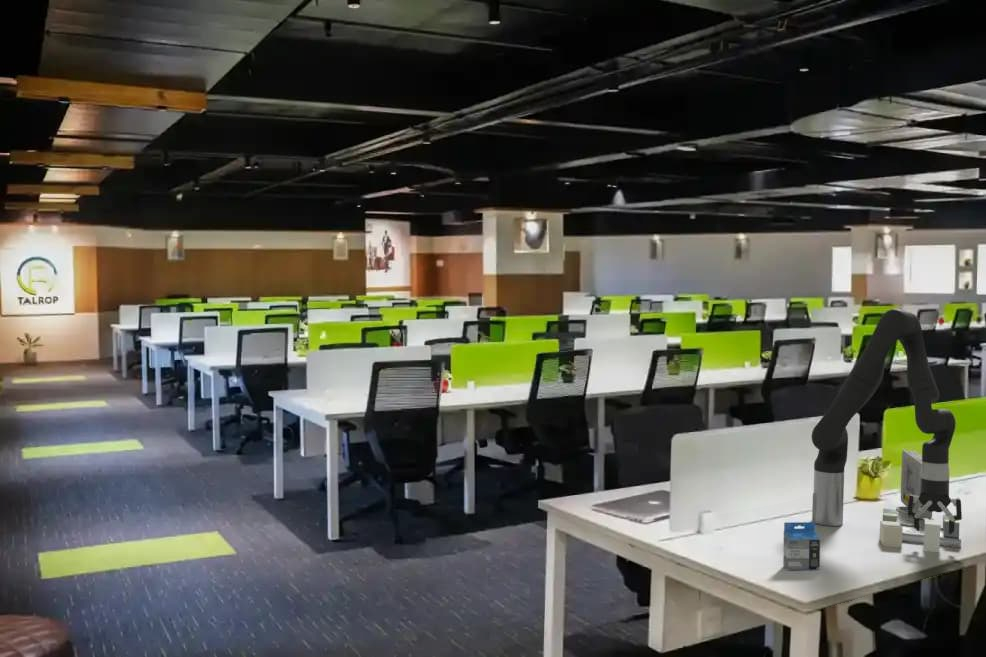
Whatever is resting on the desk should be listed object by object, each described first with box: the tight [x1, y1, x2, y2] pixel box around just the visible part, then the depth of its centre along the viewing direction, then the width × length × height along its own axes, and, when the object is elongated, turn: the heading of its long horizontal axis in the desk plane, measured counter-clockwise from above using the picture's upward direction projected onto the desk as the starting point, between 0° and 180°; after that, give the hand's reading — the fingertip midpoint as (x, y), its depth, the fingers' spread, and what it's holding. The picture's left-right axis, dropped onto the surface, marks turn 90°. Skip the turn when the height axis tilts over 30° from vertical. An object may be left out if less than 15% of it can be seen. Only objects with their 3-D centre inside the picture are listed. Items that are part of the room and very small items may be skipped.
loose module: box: [923, 519, 941, 554], centre depth 264 cm, size 4×6×8 cm
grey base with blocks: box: [882, 508, 962, 549], centre depth 277 cm, size 22×13×7 cm, turn 66°
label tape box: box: [782, 521, 821, 571], centre depth 245 cm, size 9×4×12 cm, turn 93°
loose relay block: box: [879, 520, 903, 548], centre depth 270 cm, size 5×7×6 cm
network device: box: [895, 450, 935, 523], centre depth 304 cm, size 26×9×20 cm, turn 168°
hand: (933, 531), depth 264 cm, fingers open, 8 cm apart
